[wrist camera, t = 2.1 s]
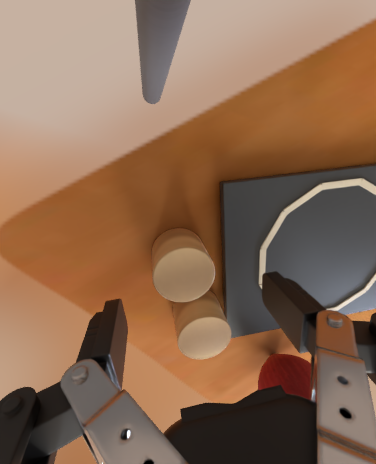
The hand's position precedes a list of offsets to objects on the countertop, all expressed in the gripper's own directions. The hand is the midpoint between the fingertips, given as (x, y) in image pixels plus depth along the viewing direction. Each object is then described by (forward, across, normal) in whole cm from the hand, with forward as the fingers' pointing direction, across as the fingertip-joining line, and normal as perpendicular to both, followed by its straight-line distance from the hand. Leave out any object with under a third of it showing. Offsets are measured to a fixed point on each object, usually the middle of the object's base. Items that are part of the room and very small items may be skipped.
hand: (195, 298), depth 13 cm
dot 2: (+6, -1, +5) cm, 8 cm away
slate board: (+5, -12, +2) cm, 13 cm away
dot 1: (+5, 0, 0) cm, 5 cm away
